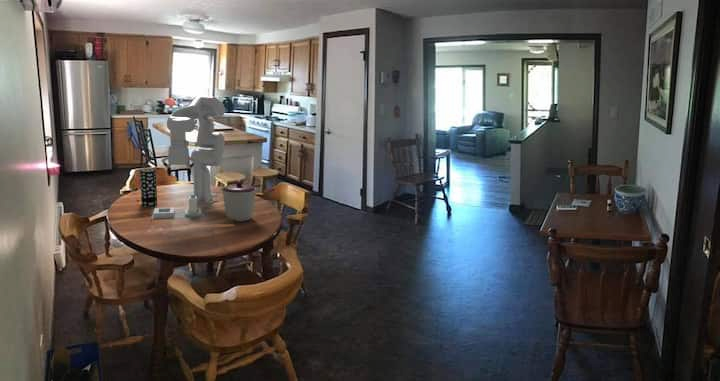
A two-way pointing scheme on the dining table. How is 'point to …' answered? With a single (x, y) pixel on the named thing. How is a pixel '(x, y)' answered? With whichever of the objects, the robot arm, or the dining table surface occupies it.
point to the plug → (192, 204)
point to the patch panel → (175, 213)
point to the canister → (239, 201)
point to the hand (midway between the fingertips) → (179, 175)
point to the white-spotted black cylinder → (148, 187)
